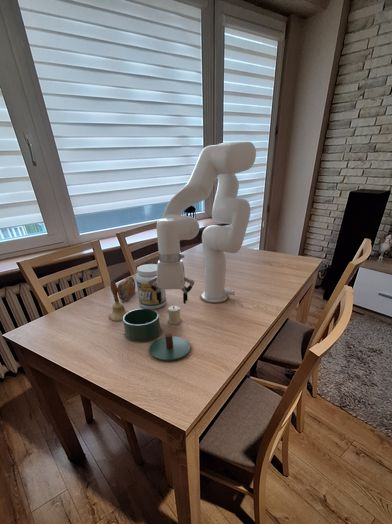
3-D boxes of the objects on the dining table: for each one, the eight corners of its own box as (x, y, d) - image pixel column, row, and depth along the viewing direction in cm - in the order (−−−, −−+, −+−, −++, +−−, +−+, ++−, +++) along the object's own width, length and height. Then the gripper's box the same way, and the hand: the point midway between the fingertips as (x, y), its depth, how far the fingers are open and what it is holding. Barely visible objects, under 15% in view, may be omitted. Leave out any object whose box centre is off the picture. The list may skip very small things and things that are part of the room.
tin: (124, 303, 127) (121, 286, 122) (118, 303, 128) (114, 285, 123) (136, 290, 139) (134, 274, 134) (131, 290, 140) (128, 274, 135)
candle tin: (159, 322, 112) (157, 306, 108) (162, 339, 101) (160, 322, 97) (126, 326, 110) (123, 310, 106) (125, 344, 99) (122, 327, 95)
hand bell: (120, 322, 112) (112, 285, 103) (105, 317, 116) (97, 281, 107) (134, 314, 118) (128, 278, 109) (120, 310, 122) (113, 275, 112)
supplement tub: (134, 307, 123) (128, 270, 113) (147, 297, 132) (143, 262, 123) (159, 311, 120) (155, 273, 110) (170, 300, 129) (167, 264, 119)
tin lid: (186, 336, 102) (186, 322, 99) (193, 359, 91) (193, 343, 88) (148, 341, 100) (146, 327, 97) (151, 364, 89) (148, 349, 85)
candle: (180, 318, 114) (180, 303, 110) (179, 324, 110) (178, 309, 106) (169, 318, 114) (168, 303, 110) (168, 324, 110) (166, 309, 107)
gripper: (194, 254, 100) (195, 298, 109) (147, 254, 101) (152, 297, 110) (193, 260, 94) (193, 306, 103) (143, 260, 95) (148, 305, 104)
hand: (172, 302), depth 107 cm, fingers open, 9 cm apart
